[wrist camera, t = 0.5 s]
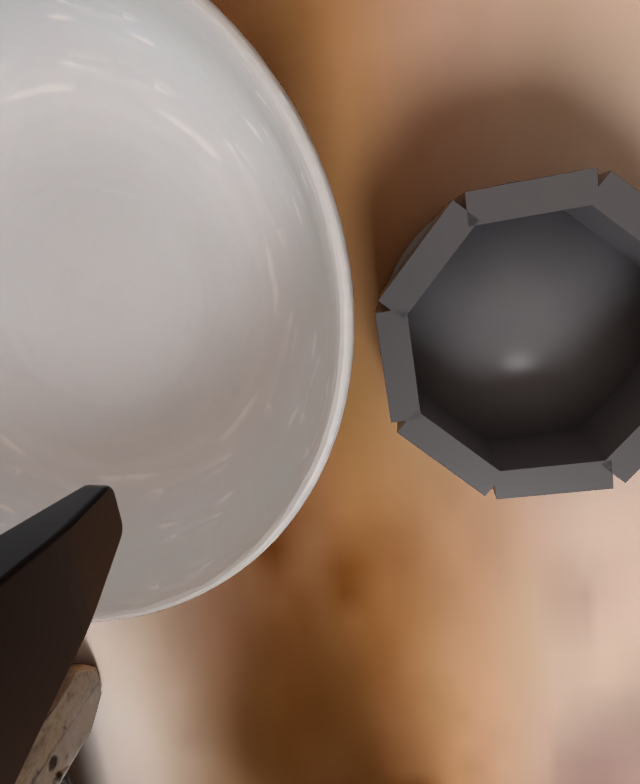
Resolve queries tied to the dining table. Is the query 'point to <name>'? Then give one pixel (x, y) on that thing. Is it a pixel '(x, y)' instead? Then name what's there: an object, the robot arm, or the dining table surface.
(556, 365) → the socket ring
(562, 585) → the dining table surface
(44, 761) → the vintage camera
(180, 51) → the serving bowl
